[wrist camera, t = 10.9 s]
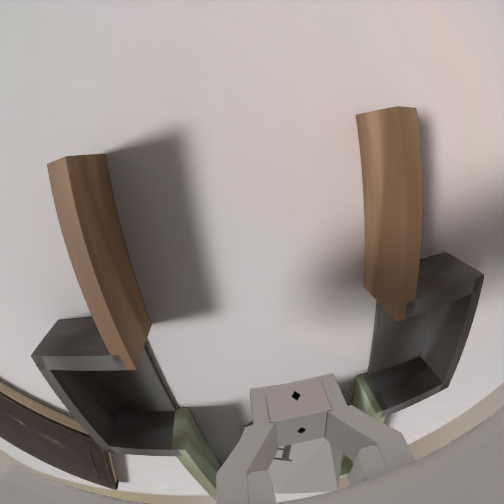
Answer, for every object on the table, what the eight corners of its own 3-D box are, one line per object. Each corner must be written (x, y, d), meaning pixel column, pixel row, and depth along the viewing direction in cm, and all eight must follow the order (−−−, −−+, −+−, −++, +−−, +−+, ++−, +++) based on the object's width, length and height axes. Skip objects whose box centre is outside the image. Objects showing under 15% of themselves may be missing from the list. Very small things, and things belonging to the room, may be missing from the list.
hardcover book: (-47, 341, 15) (-56, 352, 13) (110, 425, 20) (105, 443, 18) (-11, 417, 20) (-16, 426, 18) (119, 478, 24) (116, 491, 22)
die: (347, 395, 21) (358, 445, 11) (331, 472, 19) (327, 536, 10) (256, 387, 23) (215, 428, 14) (247, 462, 21) (210, 518, 12)
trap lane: (446, 120, 13) (491, 121, 9) (399, 425, 23) (413, 449, 20) (15, 189, 12) (-28, 203, 8) (161, 469, 22) (158, 498, 18)
